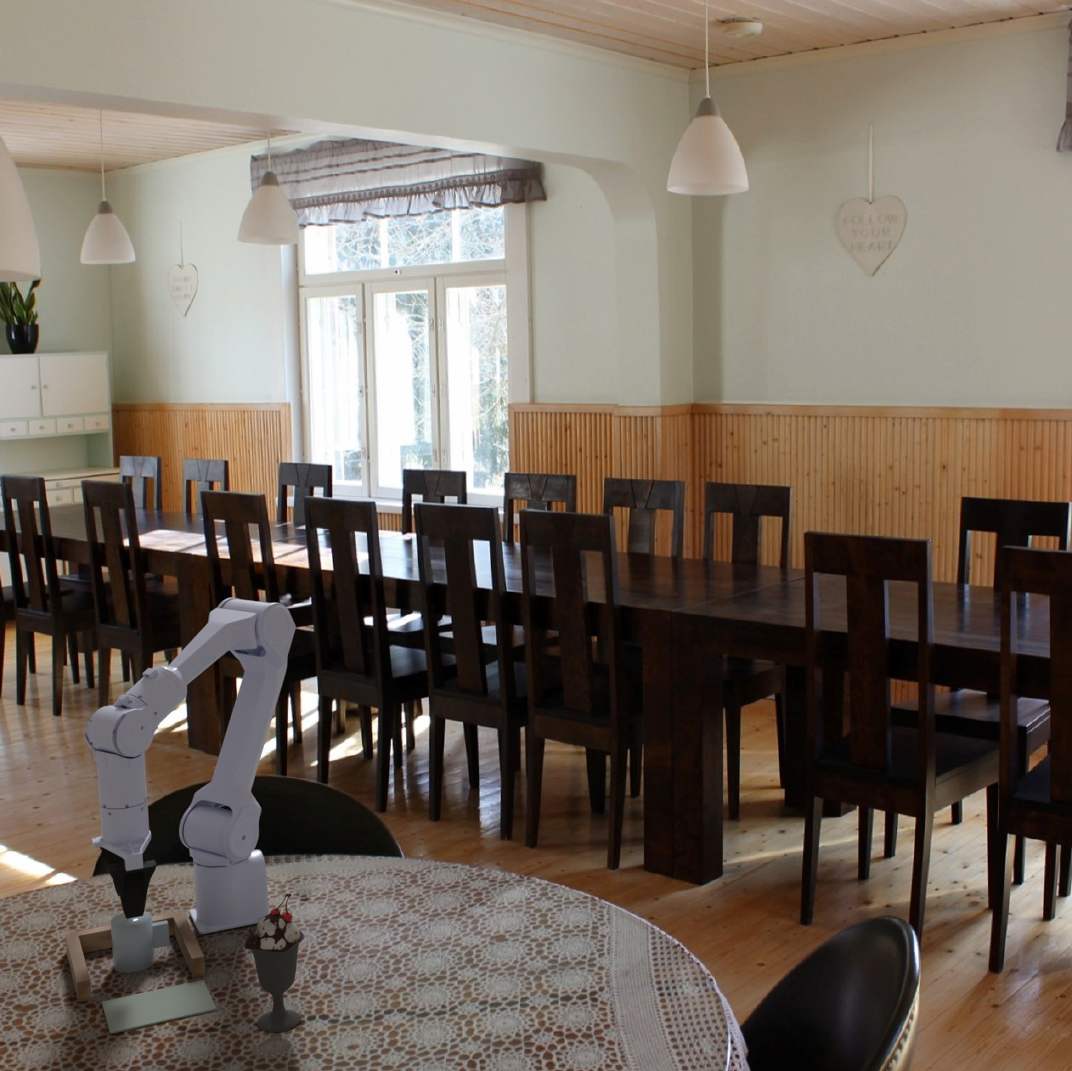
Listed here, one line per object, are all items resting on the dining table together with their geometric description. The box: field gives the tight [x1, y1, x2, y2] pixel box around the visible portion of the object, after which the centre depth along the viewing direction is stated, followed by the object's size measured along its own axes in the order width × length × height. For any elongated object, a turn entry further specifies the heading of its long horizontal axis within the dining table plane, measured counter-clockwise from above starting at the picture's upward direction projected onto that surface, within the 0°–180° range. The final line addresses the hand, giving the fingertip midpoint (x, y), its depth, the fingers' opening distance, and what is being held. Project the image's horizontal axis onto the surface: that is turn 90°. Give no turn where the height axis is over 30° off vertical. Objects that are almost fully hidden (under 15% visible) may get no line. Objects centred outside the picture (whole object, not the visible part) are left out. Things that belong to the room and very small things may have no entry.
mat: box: [101, 979, 218, 1035], centre depth 154 cm, size 12×8×1 cm, turn 115°
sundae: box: [244, 893, 305, 1033], centre depth 149 cm, size 7×7×15 cm
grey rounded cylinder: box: [110, 910, 171, 974], centre depth 165 cm, size 7×5×6 cm
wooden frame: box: [64, 910, 206, 1003], centre depth 165 cm, size 15×15×2 cm
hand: (130, 905), depth 164 cm, fingers open, 7 cm apart
